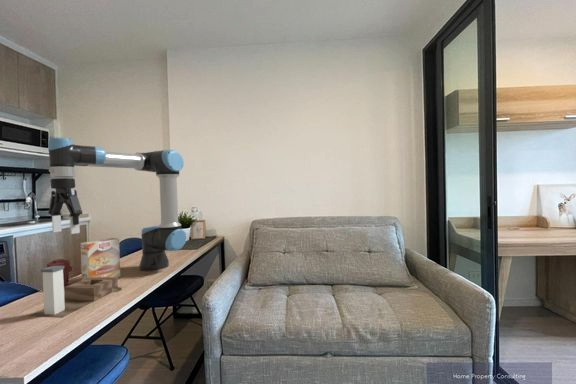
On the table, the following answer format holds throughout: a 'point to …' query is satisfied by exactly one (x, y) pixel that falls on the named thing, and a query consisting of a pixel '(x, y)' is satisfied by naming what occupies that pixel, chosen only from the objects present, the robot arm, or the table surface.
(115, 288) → the wooden socket base
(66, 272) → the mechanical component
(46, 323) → the table surface
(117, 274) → the coffeecake box
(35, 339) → the table surface
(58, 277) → the post
